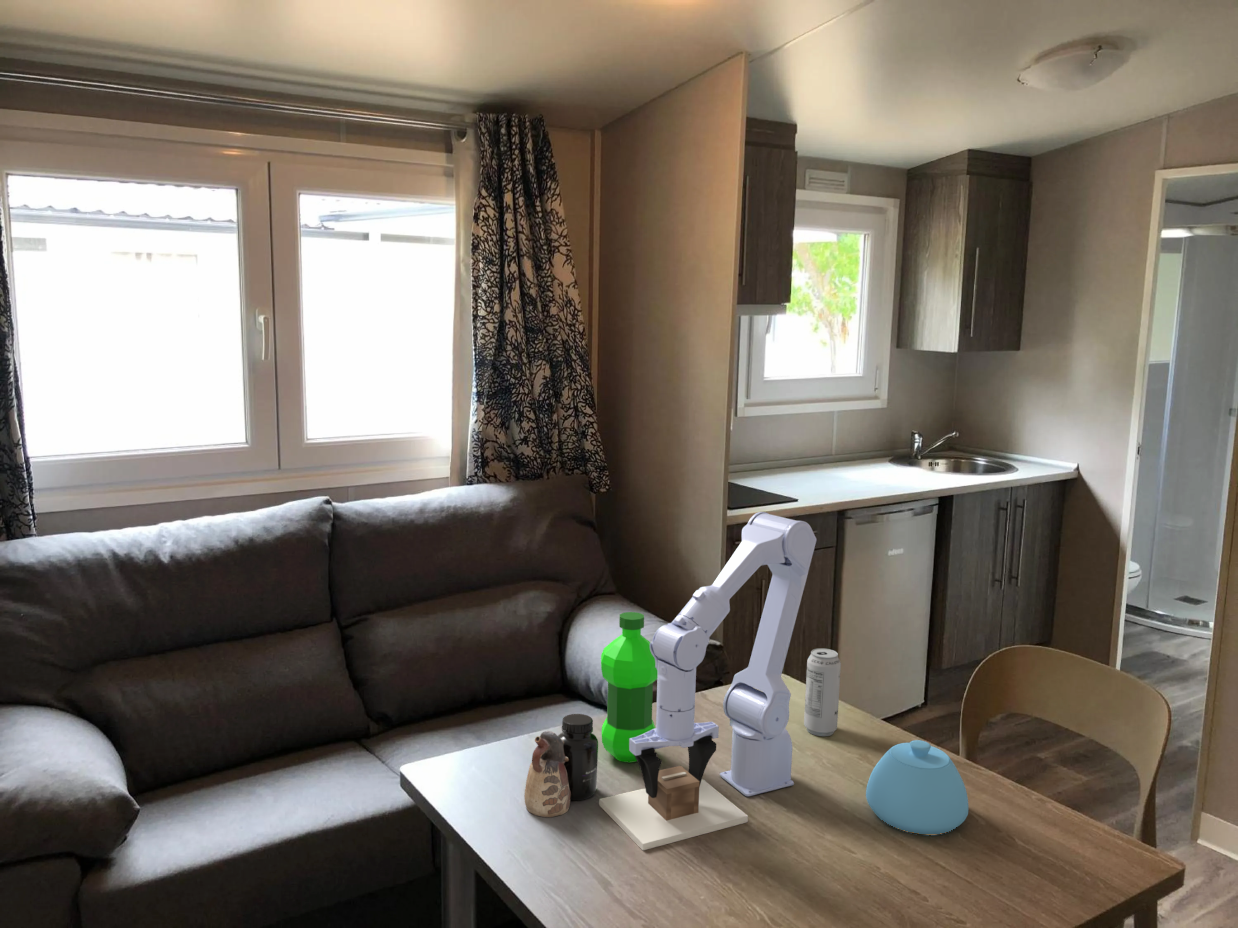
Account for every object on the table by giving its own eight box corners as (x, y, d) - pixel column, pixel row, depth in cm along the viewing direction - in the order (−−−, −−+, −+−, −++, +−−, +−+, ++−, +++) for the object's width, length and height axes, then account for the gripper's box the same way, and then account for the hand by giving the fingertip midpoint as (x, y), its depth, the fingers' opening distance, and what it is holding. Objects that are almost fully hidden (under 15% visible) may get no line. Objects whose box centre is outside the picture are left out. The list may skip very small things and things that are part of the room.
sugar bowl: (983, 814, 145) (989, 743, 143) (941, 852, 134) (947, 776, 132) (893, 780, 155) (897, 714, 153) (847, 813, 144) (851, 742, 142)
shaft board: (698, 781, 153) (698, 755, 152) (747, 821, 141) (748, 793, 140) (599, 804, 145) (599, 777, 144) (642, 850, 132) (643, 820, 132)
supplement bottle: (596, 802, 146) (598, 728, 144) (552, 801, 145) (554, 727, 144) (596, 781, 152) (599, 711, 151) (554, 780, 152) (556, 709, 151)
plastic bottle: (655, 741, 167) (659, 606, 163) (659, 769, 157) (664, 625, 153) (599, 741, 167) (601, 606, 163) (599, 769, 156) (602, 625, 153)
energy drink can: (842, 736, 171) (847, 657, 169) (811, 738, 170) (816, 659, 168) (828, 722, 177) (832, 646, 175) (798, 724, 176) (802, 648, 173)
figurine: (580, 806, 144) (581, 732, 142) (545, 822, 139) (545, 746, 137) (550, 789, 149) (550, 717, 147) (515, 804, 144) (515, 731, 142)
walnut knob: (679, 795, 146) (680, 763, 145) (698, 812, 141) (699, 779, 140) (648, 803, 144) (648, 770, 143) (666, 820, 139) (667, 786, 138)
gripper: (646, 722, 133) (643, 811, 135) (731, 705, 140) (727, 790, 142) (623, 704, 140) (621, 790, 142) (705, 689, 146) (702, 770, 148)
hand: (673, 789), depth 142 cm, fingers open, 7 cm apart
